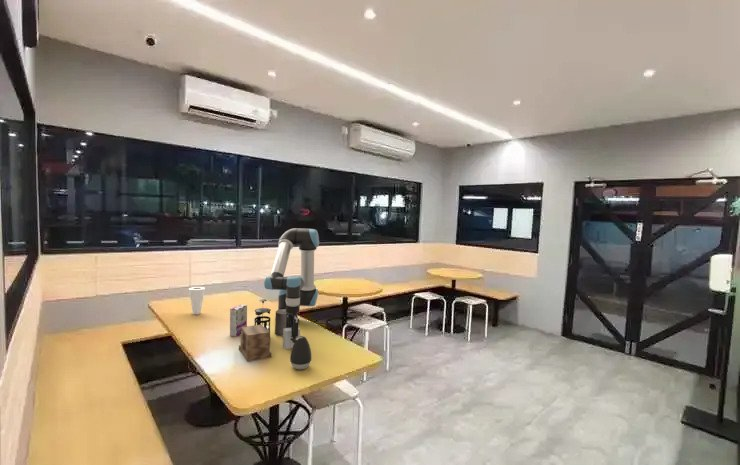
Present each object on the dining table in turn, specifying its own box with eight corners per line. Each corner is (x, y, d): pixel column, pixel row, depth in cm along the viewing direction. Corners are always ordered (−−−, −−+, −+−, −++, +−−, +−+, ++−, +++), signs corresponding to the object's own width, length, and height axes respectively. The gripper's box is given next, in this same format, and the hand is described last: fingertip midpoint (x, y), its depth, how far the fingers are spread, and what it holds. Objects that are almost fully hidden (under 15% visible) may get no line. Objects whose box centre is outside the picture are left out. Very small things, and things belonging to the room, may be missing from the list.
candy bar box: (239, 330, 219) (240, 304, 218) (247, 331, 218) (247, 304, 217) (229, 336, 208) (229, 308, 207) (236, 337, 207) (237, 309, 206)
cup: (208, 313, 251) (208, 288, 250) (193, 316, 242) (194, 290, 241) (199, 310, 257) (199, 286, 256) (185, 313, 248) (185, 288, 247)
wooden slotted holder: (263, 345, 197) (263, 323, 196) (273, 356, 182) (274, 332, 181) (238, 349, 189) (239, 326, 189) (247, 361, 174) (248, 336, 174)
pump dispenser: (290, 362, 175) (291, 332, 175) (312, 363, 176) (313, 333, 175) (287, 372, 165) (289, 340, 164) (310, 372, 166) (311, 340, 165)
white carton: (296, 343, 201) (297, 326, 200) (299, 346, 196) (300, 329, 196) (282, 346, 196) (283, 328, 196) (285, 349, 192) (286, 331, 192)
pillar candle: (271, 332, 217) (272, 308, 216) (285, 329, 224) (286, 306, 223) (280, 337, 211) (281, 312, 210) (294, 333, 218) (295, 309, 217)
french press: (273, 339, 206) (274, 300, 204) (257, 342, 200) (258, 302, 198) (265, 333, 215) (266, 296, 213) (249, 336, 209) (251, 298, 207)
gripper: (280, 301, 201) (279, 341, 202) (292, 309, 186) (290, 353, 187) (293, 300, 205) (291, 339, 206) (305, 308, 190) (303, 350, 191)
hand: (291, 346), depth 196 cm, fingers closed on white carton, 5 cm apart
